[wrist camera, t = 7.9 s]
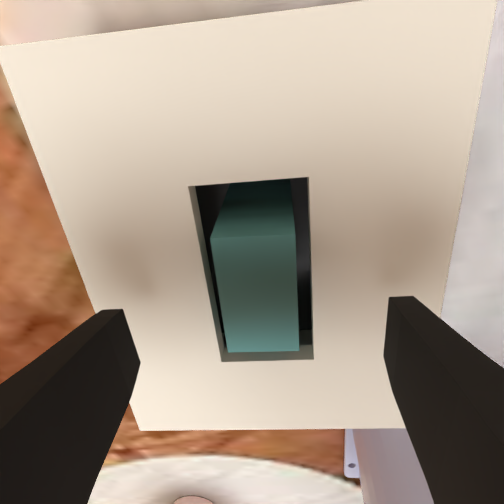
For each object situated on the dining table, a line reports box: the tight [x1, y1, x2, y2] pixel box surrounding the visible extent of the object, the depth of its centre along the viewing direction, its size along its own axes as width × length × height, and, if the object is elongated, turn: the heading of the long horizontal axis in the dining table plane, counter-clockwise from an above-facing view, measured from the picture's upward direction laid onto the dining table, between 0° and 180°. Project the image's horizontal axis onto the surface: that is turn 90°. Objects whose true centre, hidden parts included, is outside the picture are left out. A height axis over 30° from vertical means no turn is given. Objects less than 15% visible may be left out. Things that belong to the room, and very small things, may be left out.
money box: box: [0, 0, 497, 431], centre depth 15 cm, size 15×12×6 cm
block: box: [210, 178, 299, 352], centre depth 14 cm, size 4×2×6 cm, turn 5°
